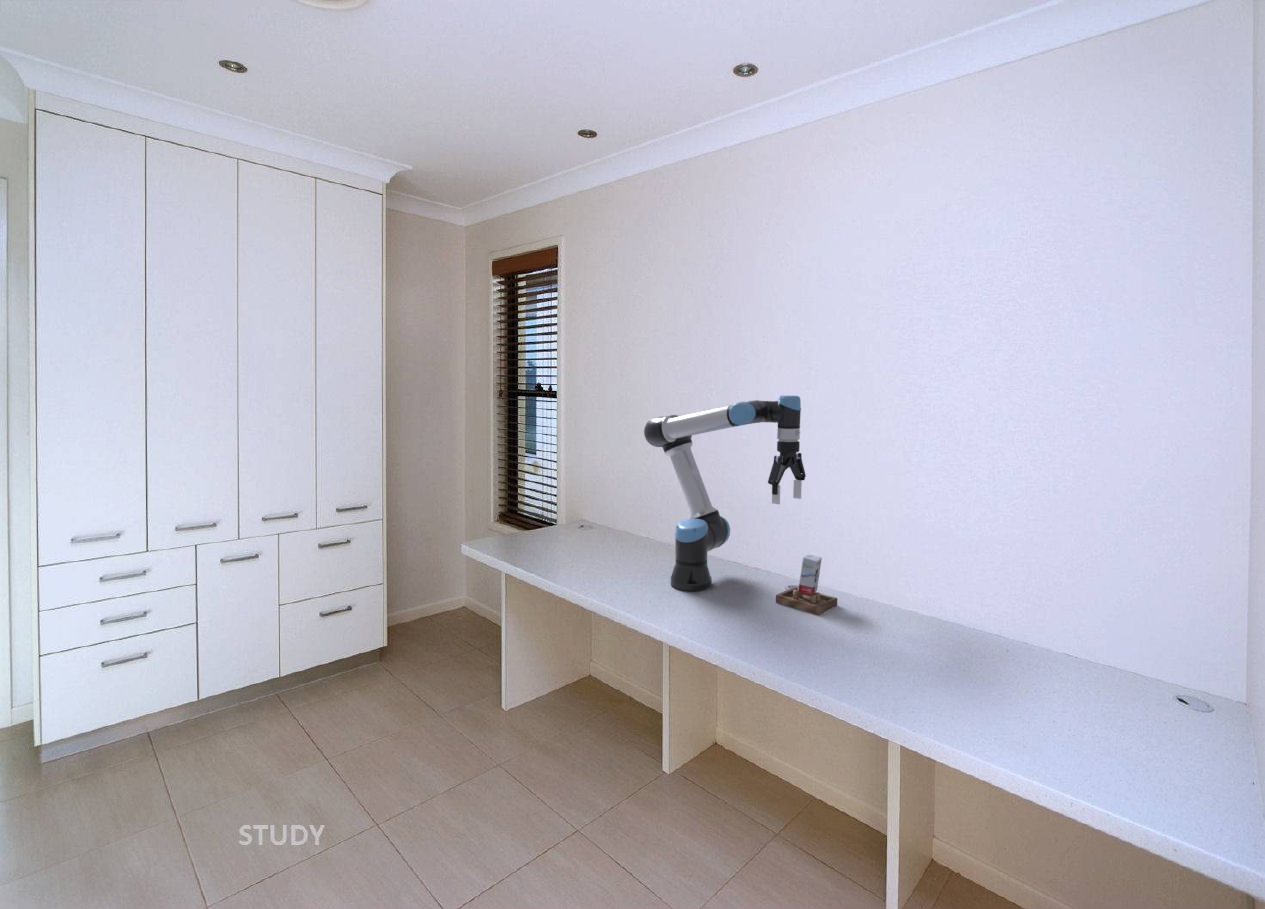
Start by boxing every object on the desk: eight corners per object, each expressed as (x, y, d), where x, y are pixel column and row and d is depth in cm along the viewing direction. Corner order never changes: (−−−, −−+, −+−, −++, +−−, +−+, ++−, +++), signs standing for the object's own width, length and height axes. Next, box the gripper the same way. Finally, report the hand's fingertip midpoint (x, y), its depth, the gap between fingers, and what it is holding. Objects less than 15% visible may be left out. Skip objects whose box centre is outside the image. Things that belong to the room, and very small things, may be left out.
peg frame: (775, 602, 209) (776, 590, 209) (794, 593, 217) (795, 582, 217) (818, 615, 198) (819, 602, 197) (837, 605, 206) (837, 593, 206)
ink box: (812, 596, 202) (817, 561, 201) (797, 592, 205) (802, 557, 204) (817, 590, 210) (822, 556, 209) (803, 587, 212) (808, 553, 211)
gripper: (777, 444, 202) (776, 507, 205) (816, 438, 219) (814, 497, 222) (758, 442, 207) (757, 504, 210) (798, 437, 225) (796, 494, 227)
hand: (786, 501), depth 216 cm, fingers open, 13 cm apart
